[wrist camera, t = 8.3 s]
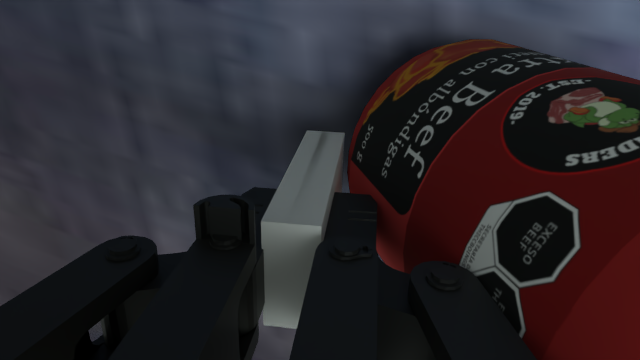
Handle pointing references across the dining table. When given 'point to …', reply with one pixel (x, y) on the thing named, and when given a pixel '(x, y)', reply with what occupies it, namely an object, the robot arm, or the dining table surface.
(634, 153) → the canned food
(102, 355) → the robot arm
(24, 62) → the dining table surface
